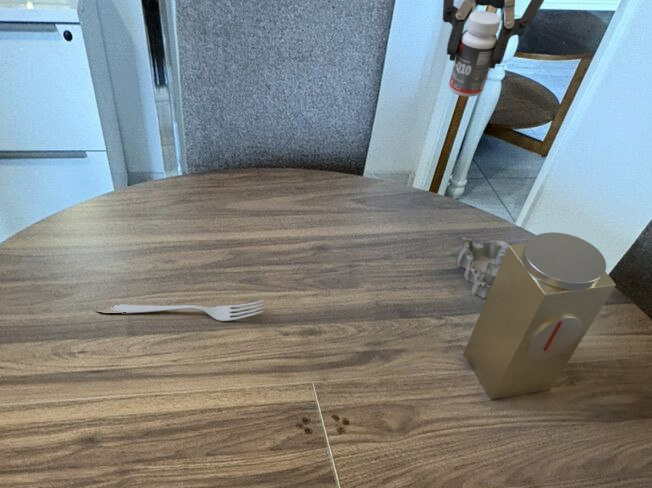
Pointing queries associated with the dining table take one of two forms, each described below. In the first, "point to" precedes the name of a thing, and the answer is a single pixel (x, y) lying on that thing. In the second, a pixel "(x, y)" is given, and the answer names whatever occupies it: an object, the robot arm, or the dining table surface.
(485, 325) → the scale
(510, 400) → the dining table surface
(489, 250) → the egg carton
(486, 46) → the pill bottle
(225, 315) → the fork
